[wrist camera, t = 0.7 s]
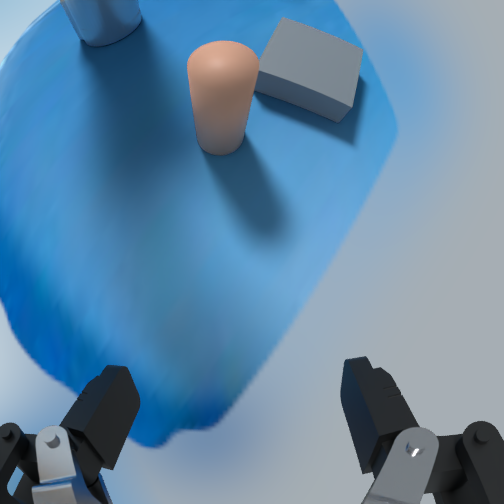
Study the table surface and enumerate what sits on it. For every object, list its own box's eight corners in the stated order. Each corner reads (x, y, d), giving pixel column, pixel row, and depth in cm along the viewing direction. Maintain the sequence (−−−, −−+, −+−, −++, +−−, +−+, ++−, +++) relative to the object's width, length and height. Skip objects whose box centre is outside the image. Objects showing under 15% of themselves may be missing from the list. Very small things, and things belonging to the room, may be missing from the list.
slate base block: (250, 89, 29) (254, 69, 25) (276, 36, 30) (282, 17, 26) (338, 123, 30) (352, 107, 26) (351, 66, 31) (363, 49, 27)
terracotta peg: (189, 147, 28) (175, 79, 16) (207, 109, 28) (204, 35, 16) (234, 161, 28) (245, 98, 16) (250, 123, 28) (268, 51, 17)
